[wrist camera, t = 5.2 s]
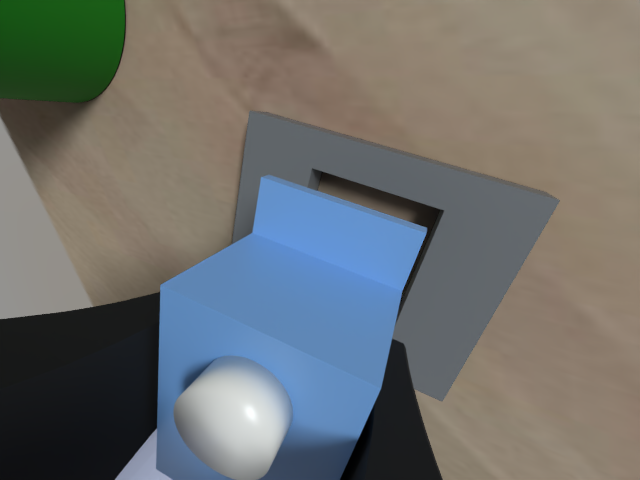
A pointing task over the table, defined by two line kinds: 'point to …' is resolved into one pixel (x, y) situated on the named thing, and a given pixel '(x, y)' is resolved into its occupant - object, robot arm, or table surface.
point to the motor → (59, 48)
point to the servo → (281, 340)
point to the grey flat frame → (443, 243)
